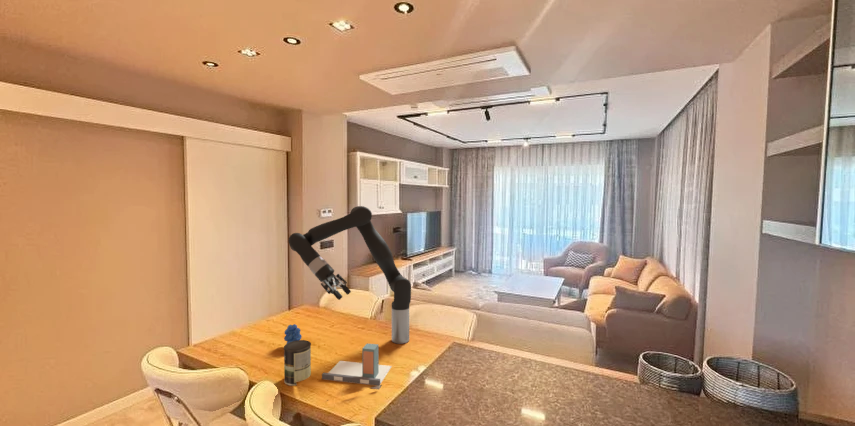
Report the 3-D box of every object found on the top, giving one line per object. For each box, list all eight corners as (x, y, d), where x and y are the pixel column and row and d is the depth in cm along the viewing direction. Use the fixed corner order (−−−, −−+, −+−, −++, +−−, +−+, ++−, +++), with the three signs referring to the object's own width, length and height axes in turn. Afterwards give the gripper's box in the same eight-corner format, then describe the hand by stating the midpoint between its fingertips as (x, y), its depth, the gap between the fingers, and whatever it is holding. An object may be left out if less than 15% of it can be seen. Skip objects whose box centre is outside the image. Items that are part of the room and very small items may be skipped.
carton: (367, 371, 142) (366, 343, 141) (378, 373, 141) (378, 344, 140) (362, 378, 137) (362, 348, 136) (374, 379, 136) (374, 349, 135)
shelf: (340, 364, 152) (340, 356, 152) (391, 369, 147) (391, 361, 147) (321, 382, 136) (321, 374, 136) (379, 389, 131) (379, 380, 131)
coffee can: (280, 386, 133) (280, 351, 133) (288, 373, 143) (288, 340, 143) (307, 385, 134) (307, 350, 134) (313, 372, 144) (313, 339, 144)
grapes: (308, 347, 169) (307, 323, 168) (296, 352, 163) (296, 327, 163) (292, 342, 175) (292, 319, 174) (280, 347, 169) (280, 323, 169)
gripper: (318, 266, 145) (343, 294, 143) (334, 260, 159) (357, 286, 157) (307, 278, 146) (332, 306, 144) (323, 271, 160) (346, 297, 158)
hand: (345, 295), depth 151 cm, fingers open, 8 cm apart
